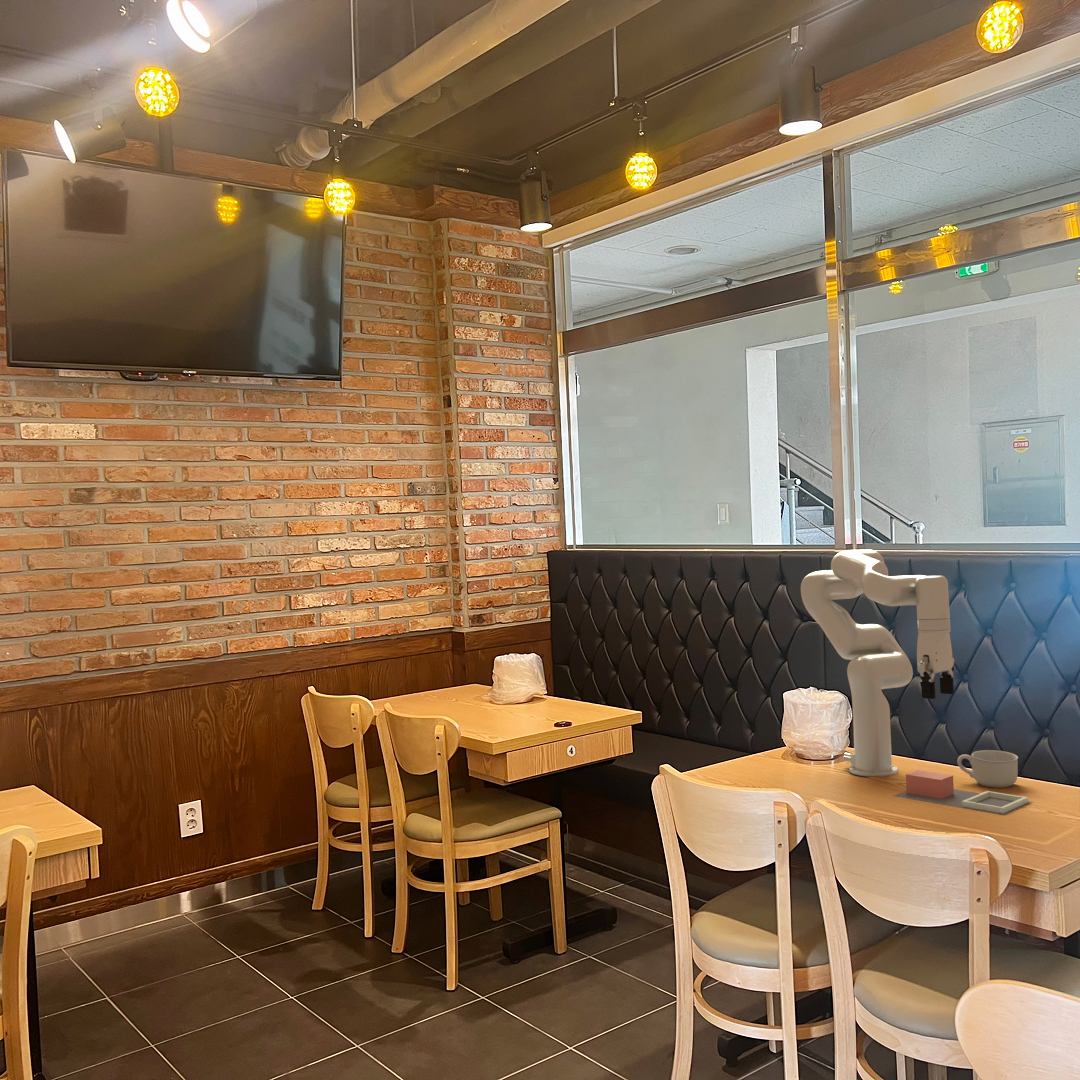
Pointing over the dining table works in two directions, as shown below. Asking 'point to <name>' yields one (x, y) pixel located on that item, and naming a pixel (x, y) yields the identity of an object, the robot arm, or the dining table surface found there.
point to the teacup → (992, 767)
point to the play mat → (959, 797)
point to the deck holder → (972, 804)
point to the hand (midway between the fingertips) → (938, 695)
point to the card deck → (929, 784)
